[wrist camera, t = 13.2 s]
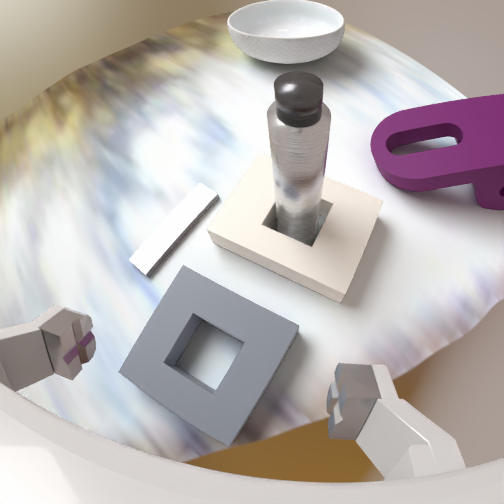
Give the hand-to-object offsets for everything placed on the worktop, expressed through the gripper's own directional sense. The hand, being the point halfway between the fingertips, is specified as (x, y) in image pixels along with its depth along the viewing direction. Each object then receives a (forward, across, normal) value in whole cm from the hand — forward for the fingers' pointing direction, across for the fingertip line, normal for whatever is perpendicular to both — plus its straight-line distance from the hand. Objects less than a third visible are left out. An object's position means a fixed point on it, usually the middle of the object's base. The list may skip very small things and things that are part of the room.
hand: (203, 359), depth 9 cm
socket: (+12, +2, +9) cm, 15 cm away
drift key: (+19, +8, +2) cm, 21 cm away
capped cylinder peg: (+19, -3, 0) cm, 19 cm away
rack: (+19, -3, 0) cm, 19 cm away
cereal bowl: (+40, 0, -23) cm, 46 cm away
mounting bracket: (+25, -19, -8) cm, 32 cm away
